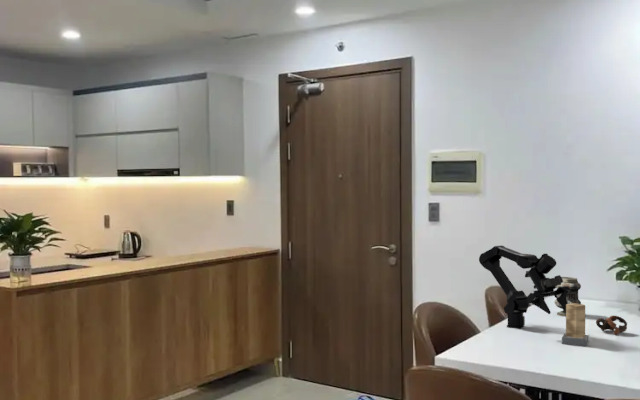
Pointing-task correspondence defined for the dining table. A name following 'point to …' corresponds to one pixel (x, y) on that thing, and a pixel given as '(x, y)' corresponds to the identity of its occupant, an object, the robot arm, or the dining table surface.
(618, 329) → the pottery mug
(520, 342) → the dining table surface
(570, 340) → the base tile
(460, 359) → the dining table surface
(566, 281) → the apothecary jar
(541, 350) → the dining table surface
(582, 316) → the oak post
